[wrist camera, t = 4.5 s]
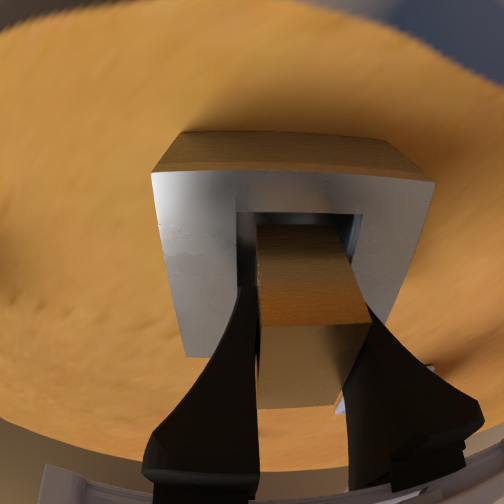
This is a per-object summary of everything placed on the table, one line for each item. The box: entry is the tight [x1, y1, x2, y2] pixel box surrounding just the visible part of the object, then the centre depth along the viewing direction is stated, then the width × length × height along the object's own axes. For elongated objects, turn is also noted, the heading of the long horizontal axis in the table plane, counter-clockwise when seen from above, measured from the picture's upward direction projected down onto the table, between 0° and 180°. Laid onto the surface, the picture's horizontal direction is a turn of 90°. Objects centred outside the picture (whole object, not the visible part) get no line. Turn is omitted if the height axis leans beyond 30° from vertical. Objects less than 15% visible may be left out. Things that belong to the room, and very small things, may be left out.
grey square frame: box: [151, 131, 436, 358], centre depth 15 cm, size 10×10×5 cm
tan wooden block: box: [255, 224, 372, 409], centre depth 11 cm, size 3×5×5 cm, turn 179°
